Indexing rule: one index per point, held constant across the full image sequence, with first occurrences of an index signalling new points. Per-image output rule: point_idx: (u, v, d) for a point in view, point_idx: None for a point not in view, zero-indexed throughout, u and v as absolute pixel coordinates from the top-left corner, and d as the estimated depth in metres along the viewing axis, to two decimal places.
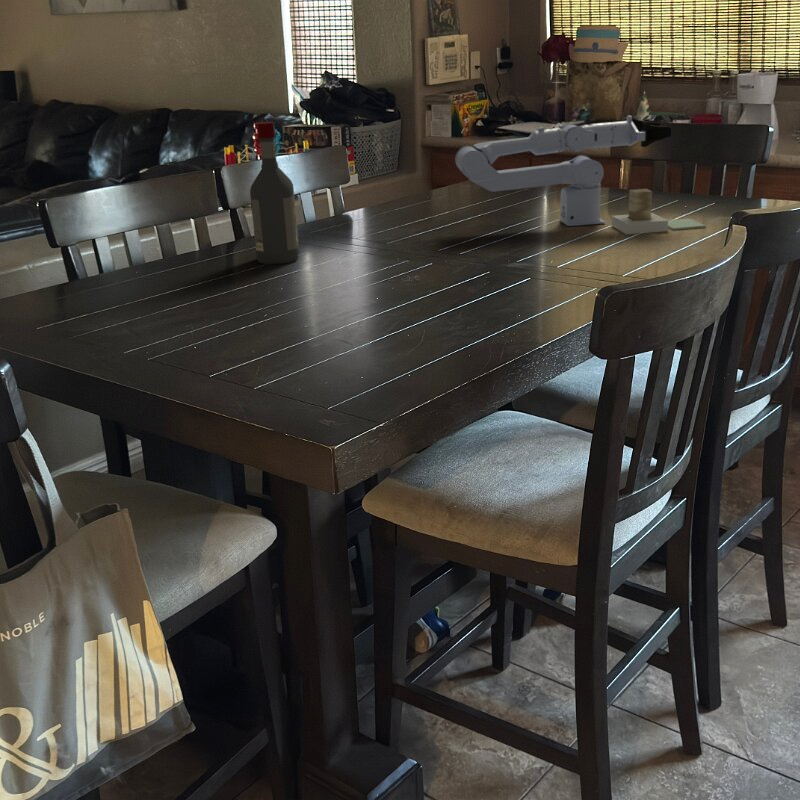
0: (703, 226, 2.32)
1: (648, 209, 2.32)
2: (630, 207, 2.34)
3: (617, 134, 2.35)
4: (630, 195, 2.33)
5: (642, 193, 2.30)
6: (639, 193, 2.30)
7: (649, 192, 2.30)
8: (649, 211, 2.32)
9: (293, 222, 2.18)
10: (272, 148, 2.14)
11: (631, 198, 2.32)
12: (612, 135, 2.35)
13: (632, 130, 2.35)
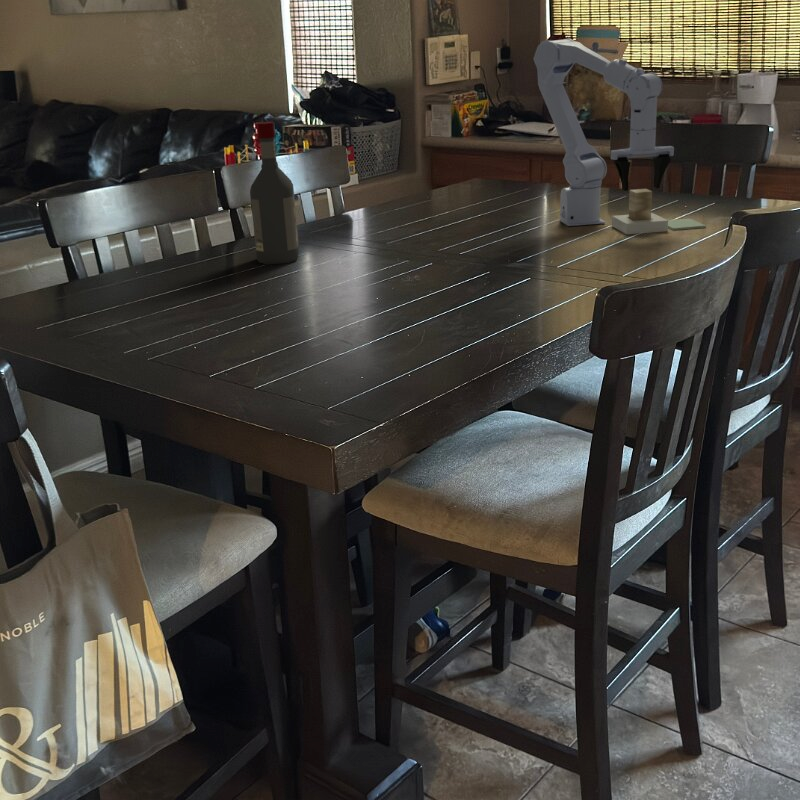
0: (703, 226, 2.32)
1: (648, 209, 2.32)
2: (630, 207, 2.34)
3: (631, 134, 2.26)
4: (630, 195, 2.33)
5: (642, 193, 2.30)
6: (639, 193, 2.30)
7: (649, 192, 2.30)
8: (649, 211, 2.32)
9: (293, 222, 2.18)
10: (272, 148, 2.14)
11: (631, 198, 2.32)
12: (636, 129, 2.25)
13: (631, 151, 2.27)
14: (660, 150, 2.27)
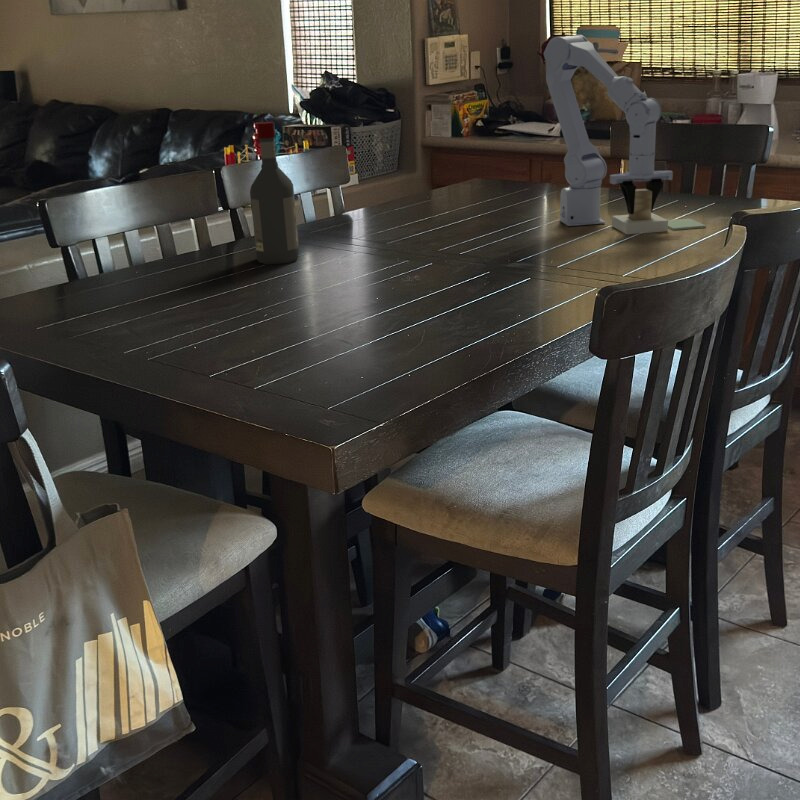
0: (703, 226, 2.32)
1: (648, 209, 2.32)
2: None
3: (630, 159, 2.28)
4: None
5: (642, 193, 2.30)
6: (639, 193, 2.30)
7: (649, 192, 2.30)
8: (649, 211, 2.32)
9: (293, 222, 2.18)
10: (272, 148, 2.14)
11: None
12: (636, 154, 2.27)
13: None
14: (659, 175, 2.29)
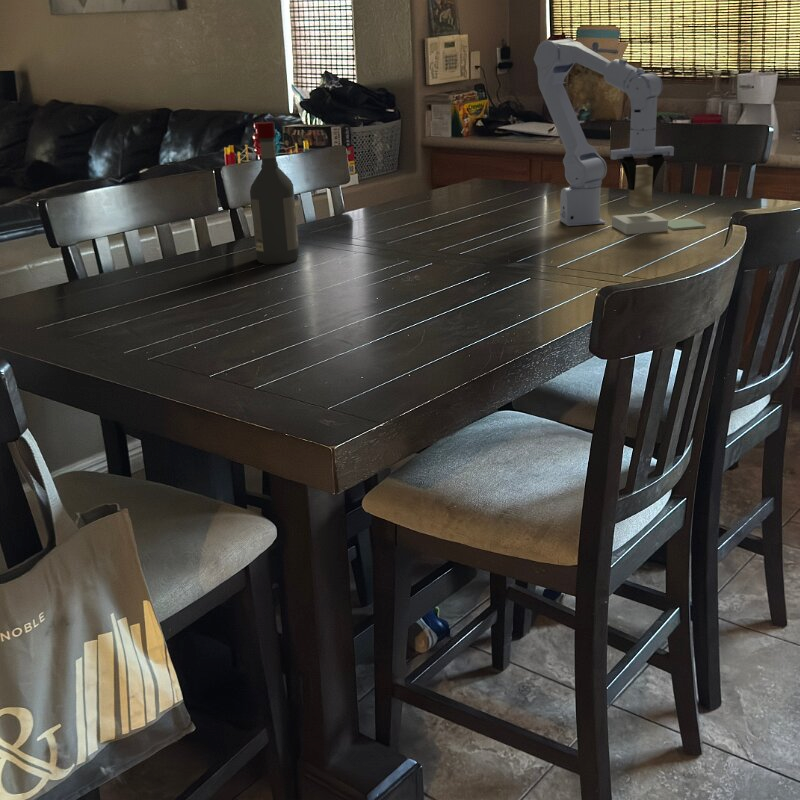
0: (703, 226, 2.32)
1: (649, 185, 2.29)
2: None
3: (631, 134, 2.26)
4: None
5: (643, 169, 2.28)
6: (640, 169, 2.28)
7: (650, 168, 2.28)
8: (650, 187, 2.30)
9: (293, 222, 2.18)
10: (272, 148, 2.14)
11: None
12: (636, 129, 2.25)
13: (631, 150, 2.27)
14: (660, 150, 2.27)
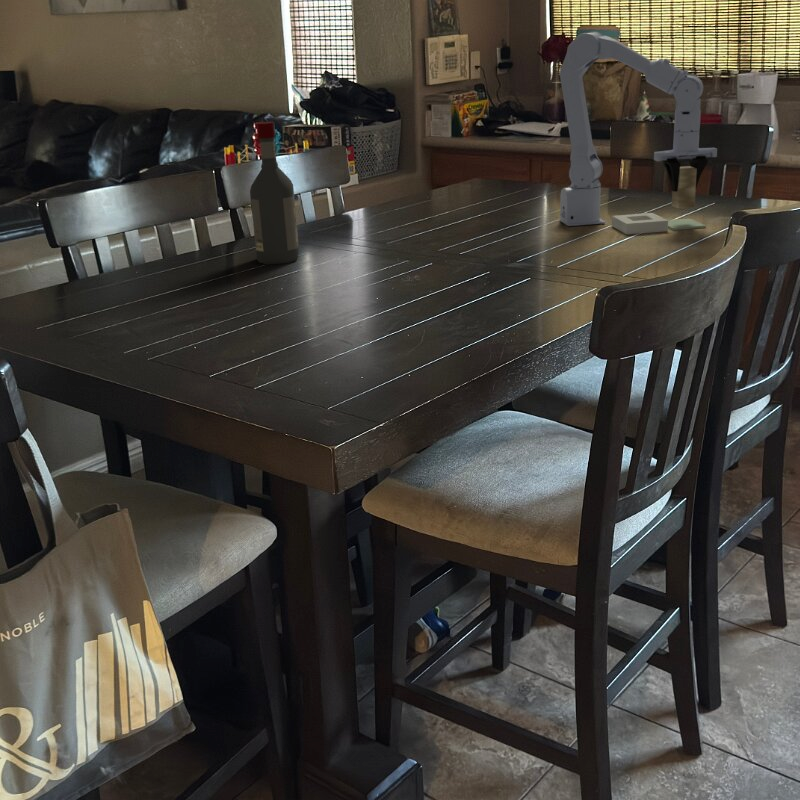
0: (703, 226, 2.32)
1: (692, 186, 2.31)
2: None
3: (675, 136, 2.28)
4: None
5: (687, 170, 2.29)
6: (684, 170, 2.29)
7: (694, 169, 2.30)
8: (693, 188, 2.31)
9: (293, 222, 2.18)
10: (272, 148, 2.14)
11: None
12: (685, 131, 2.26)
13: None
14: (703, 152, 2.28)
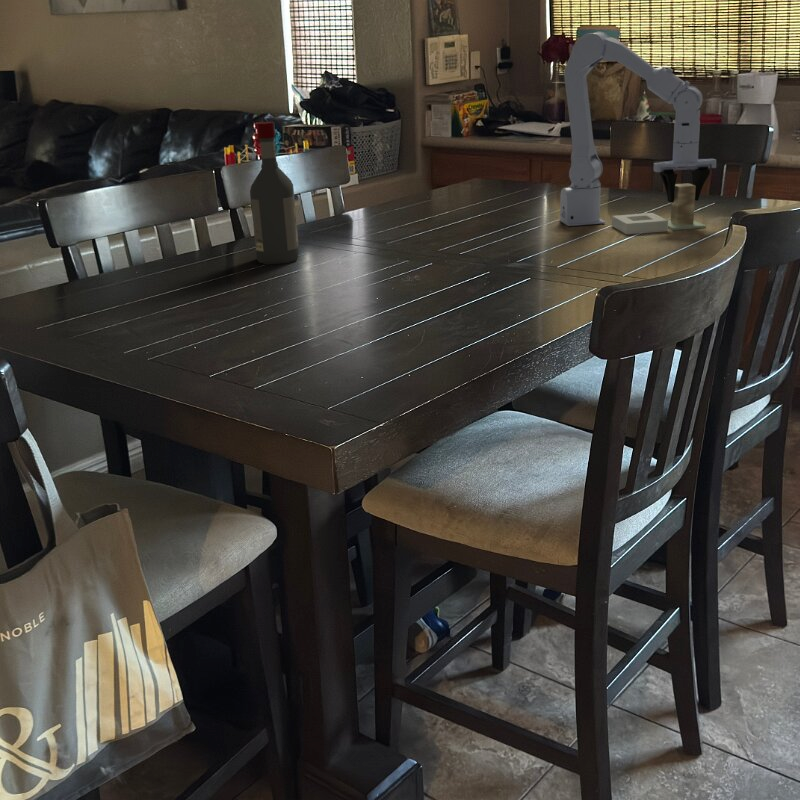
0: (703, 226, 2.32)
1: (691, 203, 2.32)
2: None
3: (674, 147, 2.29)
4: None
5: (686, 187, 2.31)
6: (683, 187, 2.31)
7: (692, 186, 2.31)
8: (692, 205, 2.33)
9: (293, 222, 2.18)
10: (272, 148, 2.14)
11: None
12: (684, 142, 2.27)
13: None
14: (703, 163, 2.29)
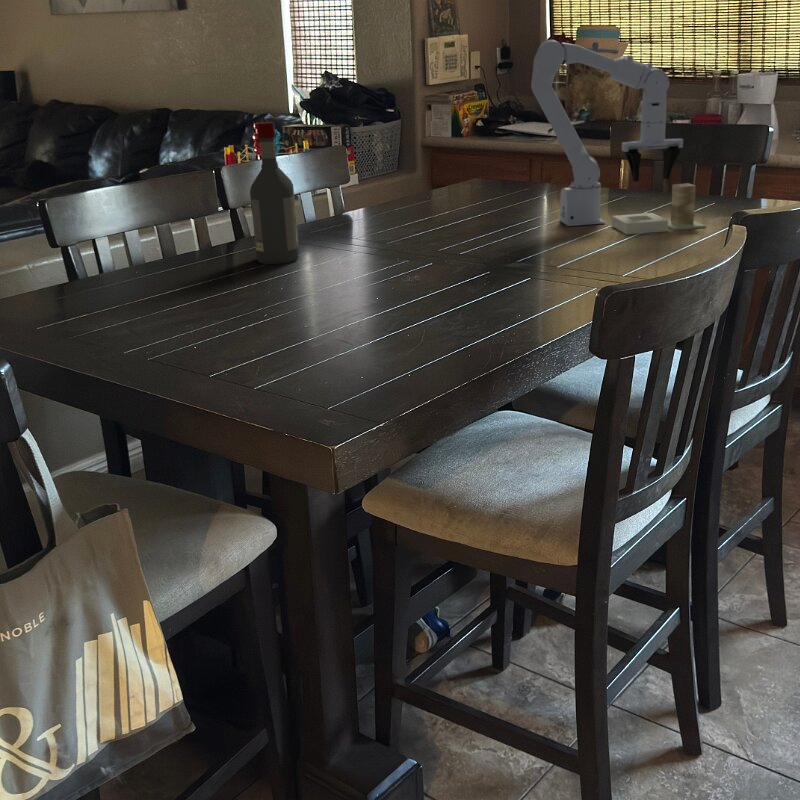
0: (703, 226, 2.32)
1: (691, 203, 2.32)
2: (673, 201, 2.35)
3: (642, 127, 2.34)
4: (674, 190, 2.34)
5: (686, 187, 2.31)
6: (683, 187, 2.31)
7: (692, 186, 2.31)
8: (692, 205, 2.33)
9: (293, 222, 2.18)
10: (272, 148, 2.14)
11: (674, 192, 2.33)
12: (655, 122, 2.32)
13: (642, 143, 2.35)
14: (670, 142, 2.35)
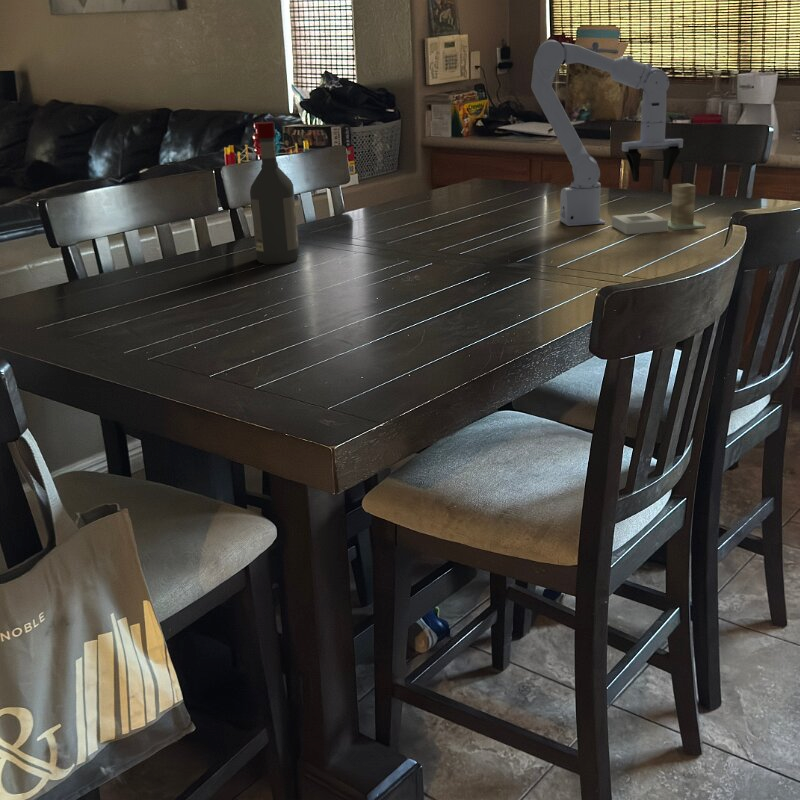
0: (703, 226, 2.32)
1: (691, 203, 2.32)
2: (673, 201, 2.35)
3: (642, 127, 2.34)
4: (674, 190, 2.34)
5: (686, 187, 2.31)
6: (683, 187, 2.31)
7: (692, 186, 2.31)
8: (692, 205, 2.33)
9: (293, 222, 2.18)
10: (272, 148, 2.14)
11: (674, 192, 2.33)
12: (655, 122, 2.32)
13: (642, 143, 2.35)
14: (670, 142, 2.35)
